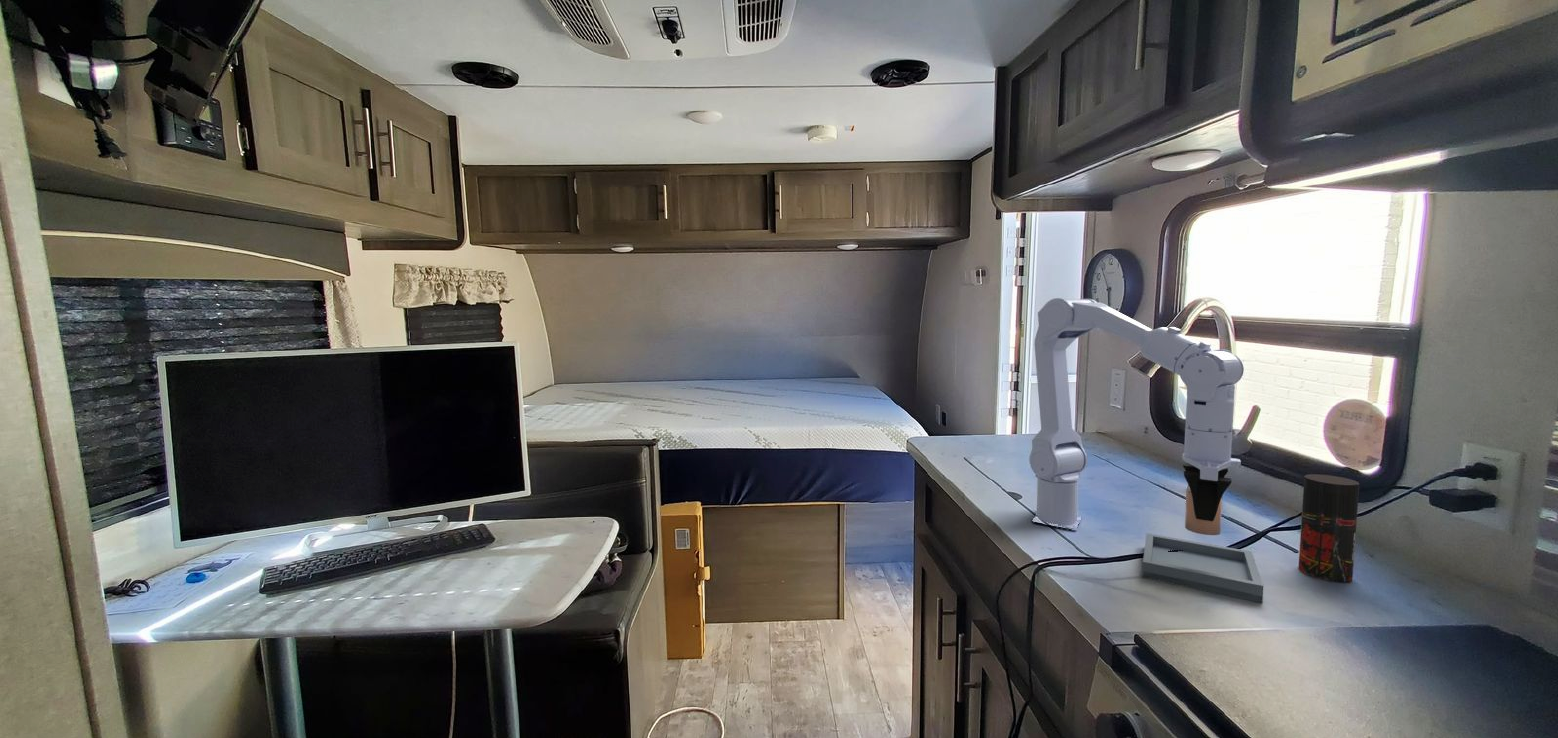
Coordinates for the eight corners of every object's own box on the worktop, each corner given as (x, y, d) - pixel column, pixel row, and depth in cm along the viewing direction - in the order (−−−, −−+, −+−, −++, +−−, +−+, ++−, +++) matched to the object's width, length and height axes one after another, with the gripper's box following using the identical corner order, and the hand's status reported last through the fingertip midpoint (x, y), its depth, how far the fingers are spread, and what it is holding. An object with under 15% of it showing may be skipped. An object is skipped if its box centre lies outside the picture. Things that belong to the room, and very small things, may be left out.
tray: (1146, 546, 96) (1146, 533, 96) (1250, 566, 88) (1251, 551, 87) (1142, 577, 84) (1143, 561, 84) (1262, 603, 76) (1263, 585, 76)
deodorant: (1293, 562, 89) (1299, 472, 88) (1344, 570, 86) (1350, 477, 85) (1304, 577, 84) (1311, 481, 83) (1359, 586, 81) (1366, 487, 79)
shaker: (1184, 522, 88) (1186, 477, 88) (1219, 528, 86) (1221, 481, 85) (1185, 531, 85) (1186, 484, 84) (1221, 537, 82) (1223, 488, 82)
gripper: (1247, 440, 76) (1242, 535, 77) (1237, 424, 87) (1232, 506, 89) (1184, 434, 80) (1180, 524, 81) (1182, 419, 92) (1179, 498, 93)
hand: (1203, 514), depth 85 cm, fingers closed on shaker, 4 cm apart
